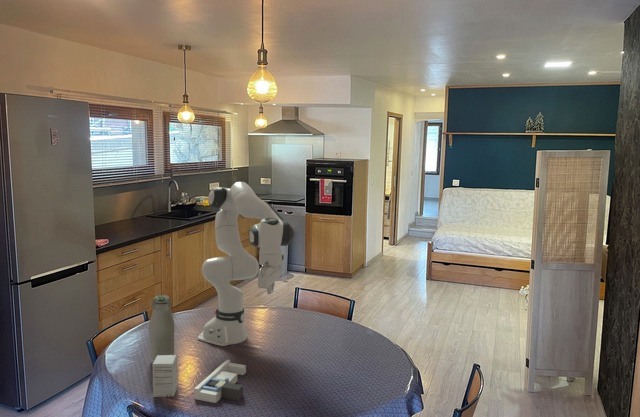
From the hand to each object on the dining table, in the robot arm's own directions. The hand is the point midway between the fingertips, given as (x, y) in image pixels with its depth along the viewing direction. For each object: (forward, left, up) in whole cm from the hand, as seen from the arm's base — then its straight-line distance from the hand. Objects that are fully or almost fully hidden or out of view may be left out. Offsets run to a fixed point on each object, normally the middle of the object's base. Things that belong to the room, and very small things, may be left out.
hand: (270, 292), depth 192 cm
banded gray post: (-6, -26, -31) cm, 41 cm away
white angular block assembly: (-11, -20, -31) cm, 39 cm away
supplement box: (-28, -31, -31) cm, 52 cm away
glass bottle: (-44, -10, -31) cm, 55 cm away
